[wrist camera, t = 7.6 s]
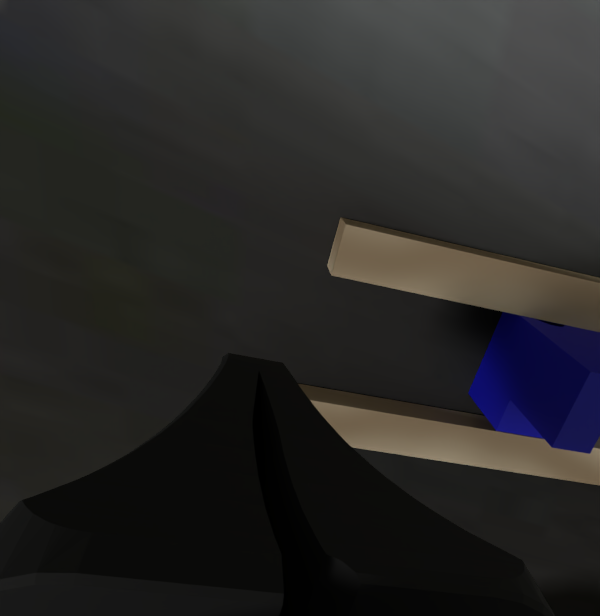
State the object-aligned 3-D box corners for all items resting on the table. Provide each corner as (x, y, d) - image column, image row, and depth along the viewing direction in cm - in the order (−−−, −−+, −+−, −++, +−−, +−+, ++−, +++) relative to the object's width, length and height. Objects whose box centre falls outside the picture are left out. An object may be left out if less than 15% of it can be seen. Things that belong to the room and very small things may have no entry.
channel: (678, 483, 26) (737, 537, 23) (284, 420, 23) (289, 473, 19) (782, 320, 23) (869, 356, 20) (340, 217, 19) (358, 240, 16)
